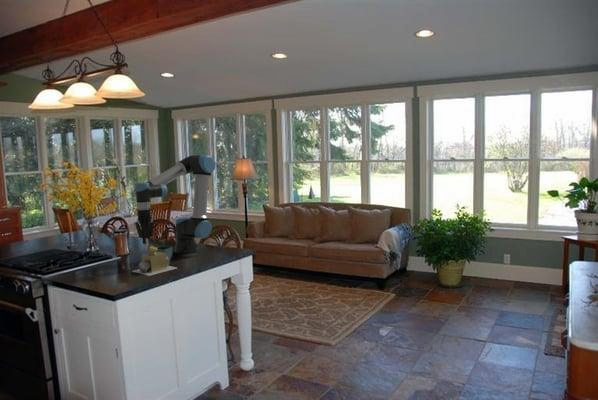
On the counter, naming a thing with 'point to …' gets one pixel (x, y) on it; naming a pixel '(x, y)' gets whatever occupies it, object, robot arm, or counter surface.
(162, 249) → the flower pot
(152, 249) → the lever
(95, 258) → the counter surface
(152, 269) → the valve
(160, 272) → the mat
